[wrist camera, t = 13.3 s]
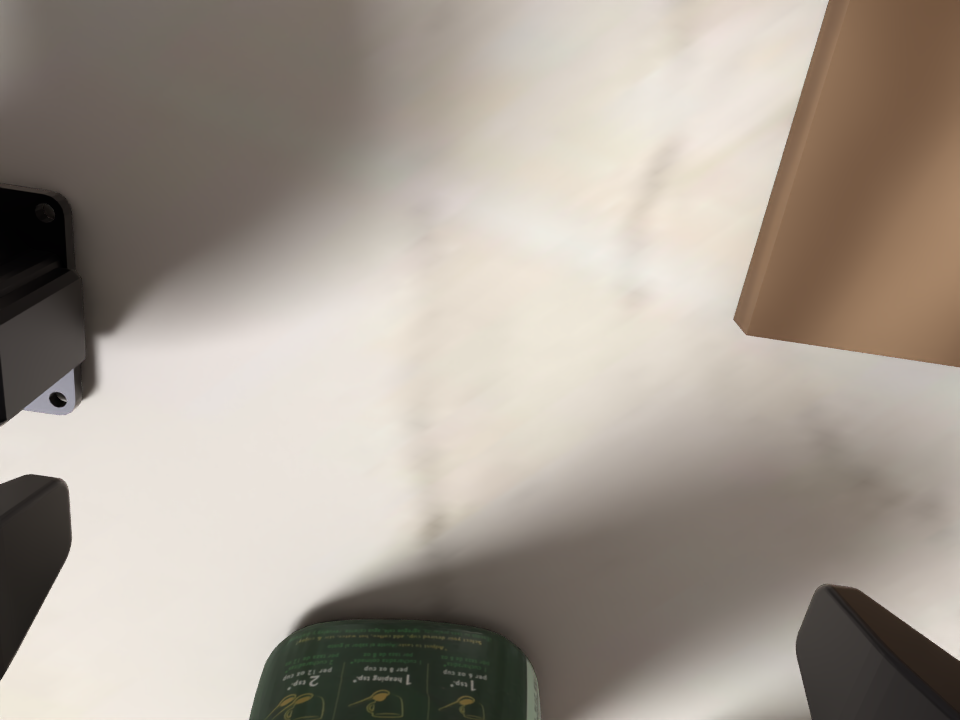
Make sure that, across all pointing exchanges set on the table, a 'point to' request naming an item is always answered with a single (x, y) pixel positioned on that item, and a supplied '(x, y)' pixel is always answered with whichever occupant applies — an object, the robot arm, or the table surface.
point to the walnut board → (868, 191)
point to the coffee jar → (396, 674)
